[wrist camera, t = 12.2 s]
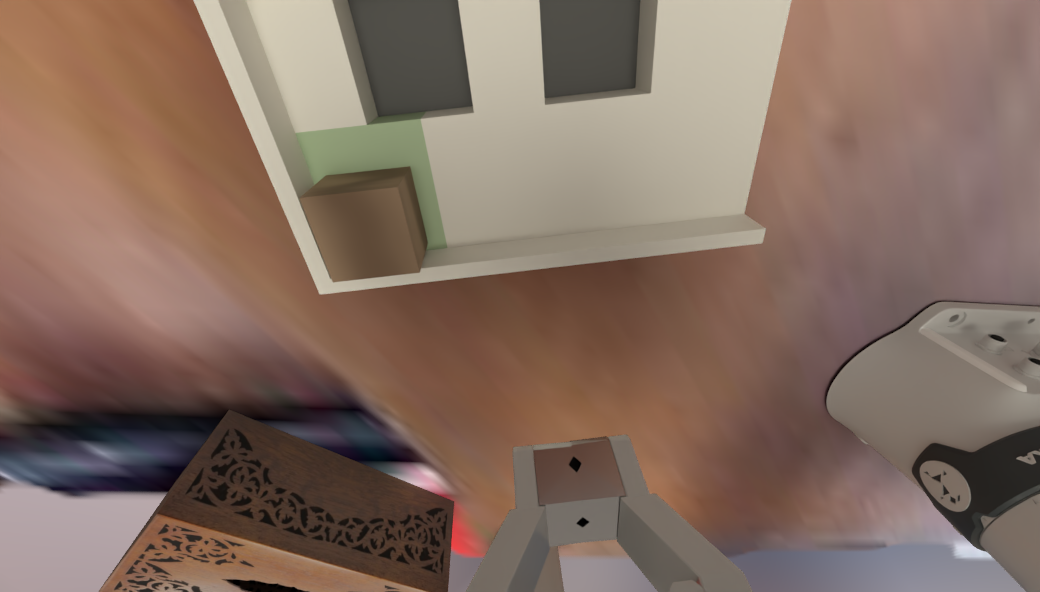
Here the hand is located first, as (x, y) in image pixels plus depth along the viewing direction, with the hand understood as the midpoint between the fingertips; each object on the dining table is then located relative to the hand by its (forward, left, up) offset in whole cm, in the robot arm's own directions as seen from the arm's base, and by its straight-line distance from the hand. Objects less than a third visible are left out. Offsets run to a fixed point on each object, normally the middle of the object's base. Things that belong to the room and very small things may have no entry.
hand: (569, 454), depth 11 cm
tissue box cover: (+25, +31, -22) cm, 46 cm away
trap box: (-1, -5, -21) cm, 22 cm away
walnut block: (+9, -1, -18) cm, 20 cm away
